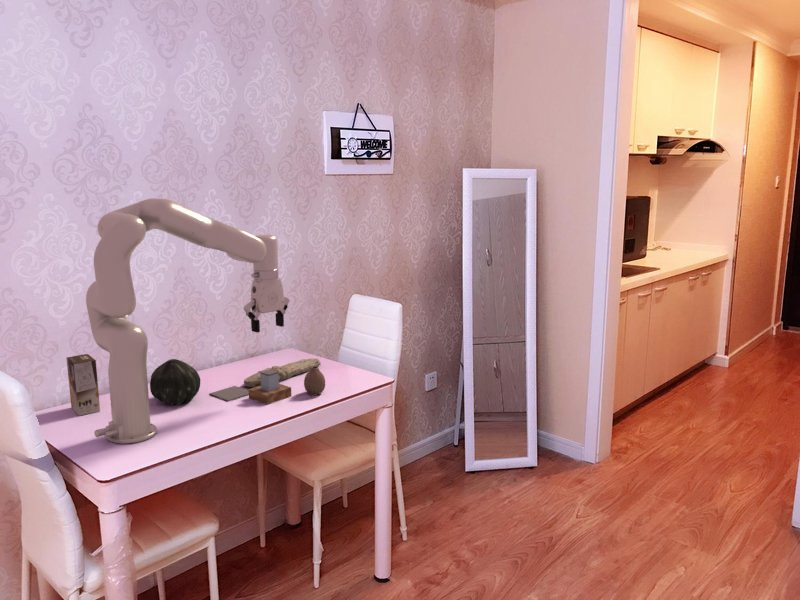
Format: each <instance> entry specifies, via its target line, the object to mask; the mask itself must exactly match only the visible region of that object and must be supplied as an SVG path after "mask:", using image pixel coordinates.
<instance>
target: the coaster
mask: <svg viewBox="0 0 800 600" xmlns="http://www.w3.org/2000/svg"><path fill="white" fill-rule="evenodd" d="M208 394H209V395H210V396H212V397H215V398H218V399H221V400H224V401H226V402H232V401H235V400H237V399H240V398H243V397H246V396H249V391H248V389H245V388H242V387H239V386H237V385H232V386H229V387H227V388H223V389H219V390H216V391H213V392H210V393H208Z"/></svg>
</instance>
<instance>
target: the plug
mask: <svg viewBox="0 0 800 600" xmlns="http://www.w3.org/2000/svg"><path fill="white" fill-rule="evenodd" d="M260 375H261V389H262V390H265V391H268V392H270V391H273V390H276V389H279V384H280V382H279V374H278V371H274V370H271V369H270V370H266V371H263V372H260Z"/></svg>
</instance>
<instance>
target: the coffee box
mask: <svg viewBox="0 0 800 600" xmlns="http://www.w3.org/2000/svg"><path fill="white" fill-rule="evenodd" d="M66 366H67V376H68V377H67V378H68V388H69V397H70V406H71V410H72V411H74V412H75V414H77V416H79V417H80V416H84V415H89V414H94V413H99V412H100V411H101V407H100V405H101V404H100V393H99V391H100V390H99V383H98V370H97V360H96V359H95V358H94V357H92V356H91V355H90V354H88V353H85V354H78V355H72V356H68V357H66Z"/></svg>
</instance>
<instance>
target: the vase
mask: <svg viewBox="0 0 800 600" xmlns="http://www.w3.org/2000/svg"><path fill="white" fill-rule="evenodd" d="M303 387H304V390H305V392H306V393H307V394H308V395H311V396H319V395H321V394H322V393H323V392H324V391H325V389H326V379H325V376H324V374H323V373H322V372H321V370H320V368H319V366H318V367H311V368H310V370H309V371H307V373H306V375H305V376H304V380H303Z"/></svg>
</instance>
